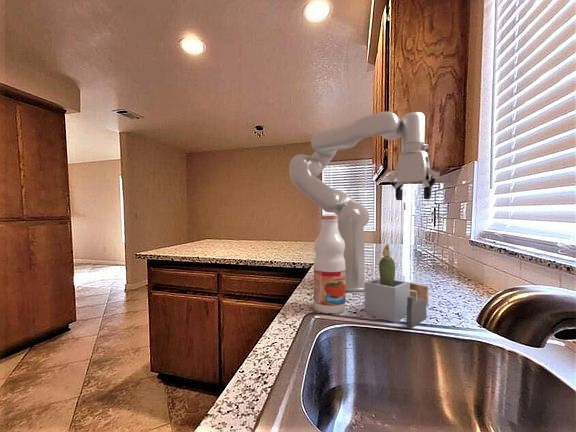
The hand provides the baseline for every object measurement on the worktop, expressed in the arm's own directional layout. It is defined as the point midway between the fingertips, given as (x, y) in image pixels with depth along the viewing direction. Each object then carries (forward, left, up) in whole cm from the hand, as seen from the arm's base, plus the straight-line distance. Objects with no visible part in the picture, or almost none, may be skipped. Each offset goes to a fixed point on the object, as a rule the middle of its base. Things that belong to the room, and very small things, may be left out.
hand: (412, 199), depth 99 cm
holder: (+2, -12, -33) cm, 35 cm away
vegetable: (+3, -23, -33) cm, 41 cm away
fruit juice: (-11, -32, -33) cm, 47 cm away
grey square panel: (+11, -24, -33) cm, 42 cm away
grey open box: (+3, -23, -33) cm, 41 cm away
